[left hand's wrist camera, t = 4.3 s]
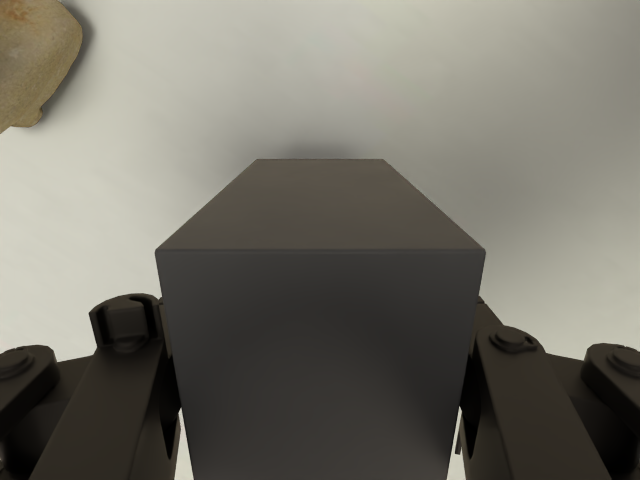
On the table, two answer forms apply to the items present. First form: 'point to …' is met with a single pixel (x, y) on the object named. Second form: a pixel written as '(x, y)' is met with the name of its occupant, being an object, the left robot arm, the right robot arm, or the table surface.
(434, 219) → the bar
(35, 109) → the sculpture
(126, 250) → the table surface
